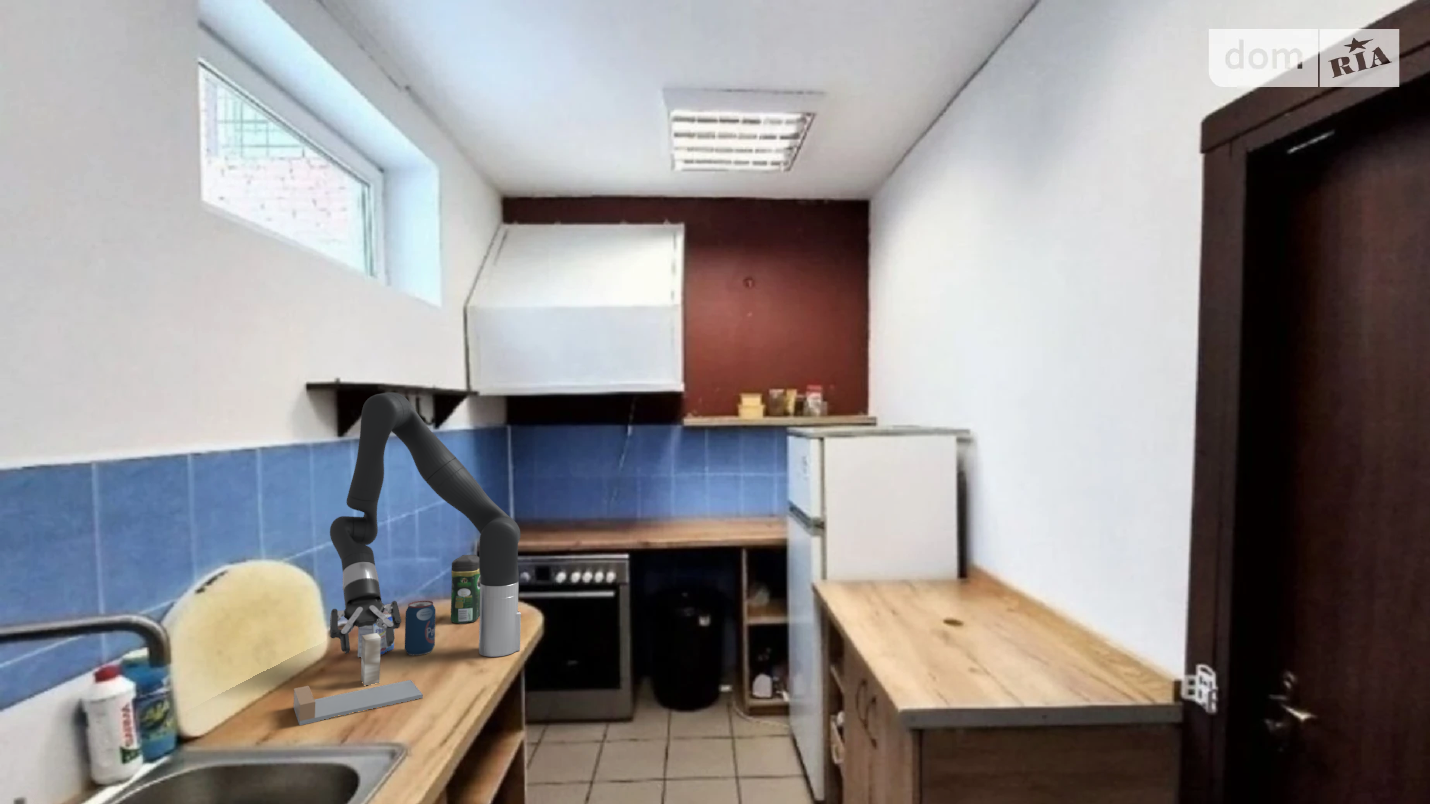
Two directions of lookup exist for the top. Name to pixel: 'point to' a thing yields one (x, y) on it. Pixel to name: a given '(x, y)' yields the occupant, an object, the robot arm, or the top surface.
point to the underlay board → (350, 701)
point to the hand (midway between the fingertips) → (369, 648)
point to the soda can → (420, 628)
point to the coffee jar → (465, 589)
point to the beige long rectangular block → (370, 659)
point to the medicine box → (371, 630)
